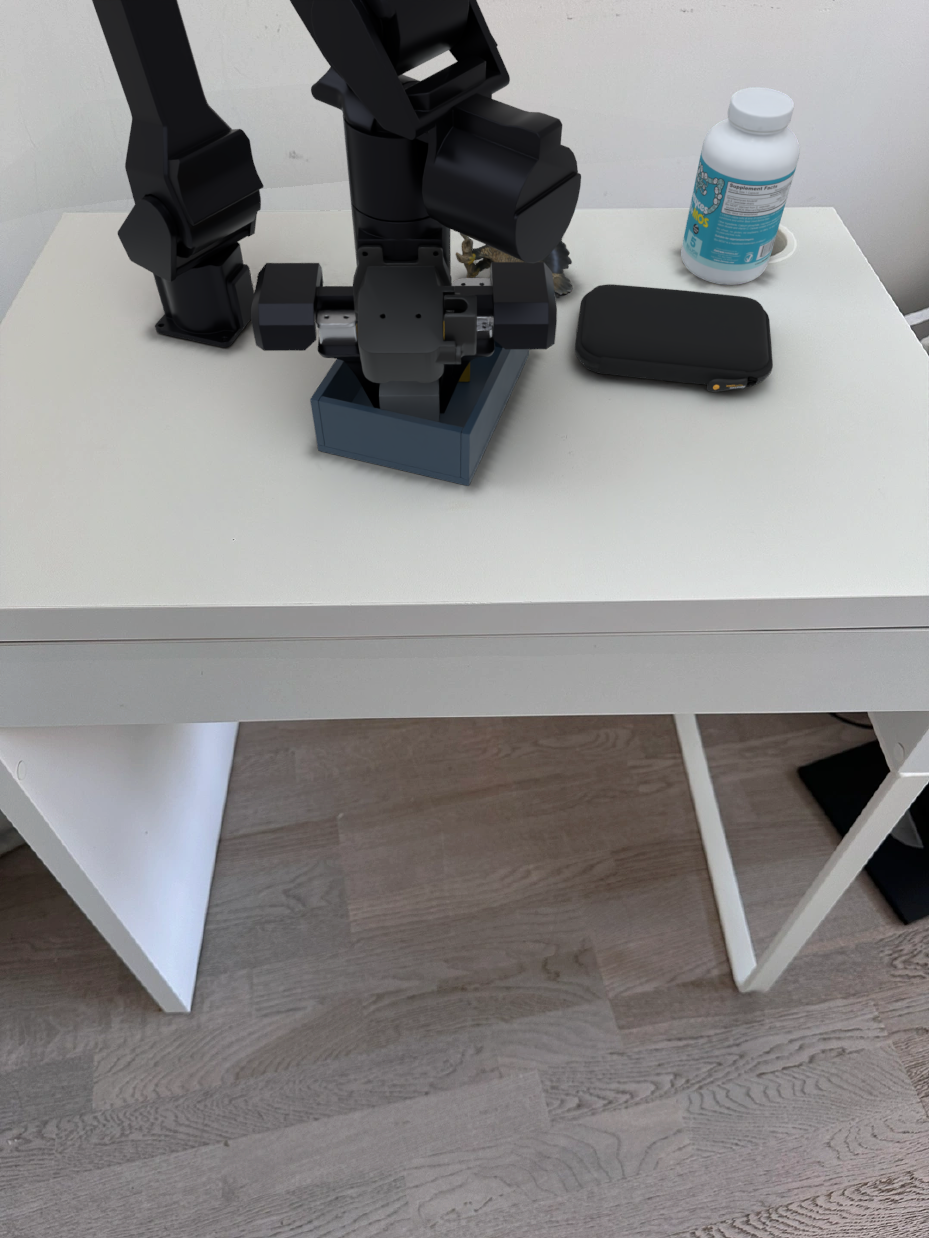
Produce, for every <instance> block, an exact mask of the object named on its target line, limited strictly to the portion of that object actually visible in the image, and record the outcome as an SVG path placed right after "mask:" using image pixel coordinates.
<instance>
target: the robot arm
mask: <svg viewBox="0 0 929 1238" xmlns="http://www.w3.org/2000/svg"><path fill="white" fill-rule="evenodd" d="M91 1H92V5H93V7H94V10H95V13H96V15H97V16H96V17H97V20H98V22H99V25H100V28H101V31H102V32H103V33H102V34H103V37H104V39H105V42H106V45H107V49H108V50H109V54H110V56H111V59H112V62H113V65H114V68H115V71H116V74H117V76H118V79H119V82H120V85H121V88H122V90H123V94H124V96H125V100H126V103H127V105H128V108H129V111H130V115H131V123H130V131H129V136H128V143H127V149H126V150H127V151H126V155H125V156H126V157H125V163H124V168H125V172H126V173H125V174H126V176H127V180H128V183H129V184H128V185H129V188H130V190H131V196H132V198H133V202H134V205H133V207H132V208H131V210H130V211H129V213H128V215H127V216H126V218H125V219H124V221H123V222H122V224H121V225H120V227H119V229H118V230H117V237H118V238H119V241H120V243H121V245H122V247H123V249H124V251H125V253H126V256H127V257H128V259H129V260H130V262H132V263H134V264H135V265H137V266H138V267H141V268H143V269H145V270H146V271H148V272H150V273H152V275H153V278H154V281H155V286H156V288H157V293H158V296H159V299H160V303H161V306H162V311H163V315H162V316H161V318H159V320H158V321H157V322H156V323H155V324H154V329H155V331H156V333H158V334H161V335H165V336H170V337H174V338H179V339H184V340H188V341H194V342H197V343H201V344H205V345H206V344H207V345H211V346H216V347H220V348H228V347H231V345H232V344H233V343H234V342H235V340H236V339H237V338H238V337H239V335H241V333H242V332H243V330H244V329H245V328H246V326H247V325H248V323H249V322H250V321H251V327H252V332H253V333H252V334H253V337H254V342H255V346H256V347H257V348H259V349H261V350H262V351H264V352H267V351H268V352H269V351H271V352H273V351H275V352H279V351H280V352H281V351H283V352H286V351H288V352H289V351H290V352H291V351H293V352H294V351H295V352H296V351H298V352H300V351H307V349H308V348H309V347H311V345H312V344H314V343H315V342H316V341H318V342H317V352H318V354H319V356H321V357H322V358H325V359H335V360H336V359H339V360H342V361H344V362H345V363H346V364H347V365H348V366H349V368H350V369H351V370H352V372H353V373H354V374H355V376H356V377H357V379H358V381H359V382H360V384H361V386H362V388H363V389H364V391H365V393H366V395H367V396H368V398H369V400H370V402H371V403H372V405H373V407H374V408H378V409H380V402H379V387H380V383H387V382H389V381H418V382H420V383H430V382H434V381H436V380H438V379H439V410H440V414H444V413H445V411H446V409H447V407H448V405H449V402H450V400H451V398H452V395H453V393H454V391H455V388H456V386H457V384H458V382H459V379H460V377H461V375H462V373H463V372H464V370H465V369H466V367H467V366H468V364H469V363H470V361H471V360H474V359H476V358H479V357H489V356H491V355H492V354H493V353H494V350H495V341H496V342H497V343H499V344H500V345H501V346H502V347H503V348H504V349H529V350H547V349H548V348H551V347H552V346H553V345H555V344H556V335H557V334H556V332H557V325H558V322H557V321H558V317H557V316H558V307H557V300H556V292H555V291H554V283H553V275H552V271H551V270H550V269H549V268H548V267H547V265H546V264H545V263H544V262H539V261H541V260H543V259H544V258H546V257H547V256H548V255H549V254H550V253H551V252H552V251H553V250H554V249H555V248H556V246H557V245H558V243H559V242H560V240H561V239H562V240H563V238H564V236H565V234H566V233H567V230H568V229H569V227H570V224H571V222H572V219H573V217H574V215H575V211H576V208H577V205H578V201H579V197H580V196H579V195H580V192H581V184H582V174H581V173H580V172H579V169H578V161H577V158H576V155H575V152H573V150H572V149H571V148H570V147H568V146H566V145H563V144H562V135H563V134H562V133H563V123H562V121H561V119H560V118H557V117H554V116H552V115H549V114H547V113H544V112H539V111H528V110H523V109H521V108H518V107H515V106H513V105H510V104H508V103H504V102H502V101H500V100H497V99H493V95H494V94H496V93H498V92H499V91H500V90H502V89H504V88H505V87H507V86H508V85H509V84H510V82H511V77H510V74H509V71H508V70H507V67H506V65H505V62H504V60H503V58H502V56H501V52H500V51H499V48H498V46H499V44H498V43H497V41H496V39H495V38H494V36H493V34H492V33H491V30H490V28H489V26H488V23H487V20H486V19H485V16H484V13H483V12H482V9H481V7H480V5H479V3H478V0H289V2H290V4H291V5H292V7H293V9H294V10H295V12H296V14H297V15H298V17H299V18H300V21H301V22H302V24H303V25H304V27H305V29H306V31H308V33H309V35H310V36H311V38H312V40H313V42H314V43H315V45H316V47H317V48H318V50H319V51H320V53H321V55H322V56H323V58H324V59H325V61H326V62H327V64H328V65H329V69H327V71H326V72H325V73H324V74H323V75H322V76H321V77H320V78H319V79H318V80H317V81H316V82H315V83H313V84H312V85H311V87H310V93H311V97H312V98H313V99H314V100H316V101H318V102H321V103H324V104H325V105H328V106H331V107H333V108H336V109H338V110H340V111H341V112H342V123H343V131H344V144H345V154H346V155H345V156H346V167H347V176H348V186H349V198H350V207H351V209H350V210H351V218H352V230H353V240H354V251H355V253H354V254H355V262H356V263H355V264H356V267H355V270H354V274H353V277H352V278H353V279H352V285H324V275H323V267H322V266H321V264H320V262H265V264H264V265H263V267H262V268H261V269H259V270H260V271H259V272H258V273H257V278H256V284H255V288H254V284H253V280H252V274H251V270H250V269H251V268H250V266H249V265H248V264H246V263H244V257H243V253H242V248H241V243H240V241H242V240H244V239H245V238H248V237H252V236H253V235H254V234H256V225H257V216H258V212H260V211H261V209H262V198H261V191H260V190H262V189H263V188H264V184H263V182H262V180H261V178H260V176H259V174H258V171H257V168H256V165H255V162H254V158H253V151H252V145H251V140H250V137H249V136H248V135H247V133H246V132H245V131H244V130H243V129H242V128H234V129H233V128H232V127H231V126H230V125H229V124H228V123H227V122H226V121H225V120H224V119H223V118H222V117H221V116H220V114H218V113H217V112H216V111H215V110H214V108H212V106H210V104H209V102H208V100H207V98H206V95H205V90H204V88H203V85H202V81H201V78H200V77H201V76H200V74H199V71H198V67H197V63H196V60H195V57H194V54H193V50H192V47H191V43H190V40H189V36H188V33H187V30H186V26H185V22H184V19H183V16H182V12H181V8H180V5H179V2H178V0H91ZM448 51H449V53H450V54H451V55H452V56H453V58H454V59H455V60H456V61H455V62H454V63H451V64H450V65H447V66H446V67H444V68H442V69H440V70H439V71H437V72H435V73H433V74H431V75H428V77H425V78H424V79H422V80H419V79H416V78H413V77H411V76H409V75H405V74H406V73H408V72H410V71H411V70H413V69H416V68H418V67H419V66H421V65H423V64H425V63H426V62H428V61H430V60H433V59H435V58H436V57H438V56H441V55H442V54H444V53H446V52H448ZM451 230H452V231H454V232H456V233H458V234H460V233H461V234H463V235H465V236H468V237H469V238H470V239H472V240H473V241H476V242H478V243H481V244H484V245H488V246H490V247H493V248H495V249H497V250H499V251H502V252H504V253H506V254H508V255H511V256H513V257H515V258H517V259H520V260H522V261H524V262H491V267H490V268H489V269H490V270H489V273H490V274H489V277H474V278H466V277H461V278H457V279H455V280H453V278H452V275H451V273H452V272H451V271H452V269H451V265H452V263H451V261H452V260H451ZM254 289H255V290H254ZM317 331H318V333H317ZM317 337H318V340H317ZM494 340H495V341H494Z"/></svg>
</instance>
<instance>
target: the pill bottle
mask: <svg viewBox="0 0 929 1238" xmlns="http://www.w3.org/2000/svg"><path fill="white" fill-rule="evenodd" d="M794 107H795V103H794V100H793V99H792V97H791V96H789V95H788V94H787V93H785V92H783V91H781V90H778V89H773V88H771V87H763V86H751V87H745V88H741V89H738V90H737V91H736V92H733V94H732V96H731V97H730V100H729V105H728V109H727V118H724V119H722V120H720V121H718V122H717V123H715V124H714V125H713V126H712V127H710V129H709V130H708V131H707V132H706V134H705V136H704V139H703V141H702V146H701V150H700V155H699V159H698V165H697V170H696V175H695V180H694V186H693V189H692V195H691V199H690V204H689V210H688V213H687V220H686V224H685V229H684V234H683V238H682V244H681V249H680V250H681V251H680V255H681V260H682V263H683V265H684V266H685V268H686V269H687V270H688V271H689V272H690V273H691V274H693V275H694V276H696V278H697V277H698V278H699V279H701V280H704V281H706V282H708V283H709V282H710V283H713V284H717V285H726V286H727V285H728V286H730V285H732V286H733V285H740V284H745V283H749V282H751V281H754V280H756V279H757V278H759V277H760V276H761V275H762V274H763V273H764V272H765V270H766V269H767V267H768V265H769V262H770V258H771V255H772V252H773V248H774V245H775V241H776V238H777V234H778V230H779V228H780V224H781V221H782V218H783V214H784V211H785V207H786V204H787V200H788V196H789V194H790V190H791V187H792V186H791V185H792V183H793V181H794V177H795V173H796V170H797V166H798V162H799V159H800V155H801V147H800V145H801V144H800V142H799V139H798V137H797V135H796V133H795V132H794V131H793V130H792V128H790V127H789V125H790V123H791V121H792V117H793V112H794V109H795V108H794Z"/></svg>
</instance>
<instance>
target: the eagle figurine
mask: <svg viewBox="0 0 929 1238" xmlns="http://www.w3.org/2000/svg"><path fill="white" fill-rule="evenodd" d="M459 235H460V236H461V238H463V240H462V242H461V244H460V245H461V254H460V253H459V252H455V257H456V260H457V261H458V263H460V264H463V266H464V268H465V269H466V276H465V278H477V276H478V275H479V274H480V273H481V272H482V271H484V270H488V269H490V267H491V262H524V261H522V260H520V259H517V258H515V257H513V256H511V255H508V254H506V253H504V252H502V251H499V250H497V249H495V248H493V247H490V246H488V245H486V244H484V245H482V246H479V247H476V248H475V247H474V239H472V238H470V237H468V236H465V235H463V234H461V233H459ZM473 247H474V248H473ZM570 254H571V253H570V250H569V249H568V248H567V244H566V243H565V242H564V241H563V238H562V239H561V240H560V242H559V243H558V245H557V246H556V248H555V249H554V250H553V251H552V252H551V253H550V254H549V255H548V256H547V257H546V258H544V259H543V260H541V261H539V262H544V263H545V264H546V265H547V267H548V268H549V269H550V270H551V271H552V275H553V283H554V291H555V294H557V295H559V296H562V295H563V294H564V295H567V294H568V293H571V292H572V291H573V288H574V285H573V284H572V283H571V282H572V281H571V279H570V278H568V277H567V276H566V274H565V273H564V270H568V269H569V267H570V265H572V264H573V261H572V259H571V257H570V256H569V255H570ZM475 261H477V262H476V263H475Z"/></svg>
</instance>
